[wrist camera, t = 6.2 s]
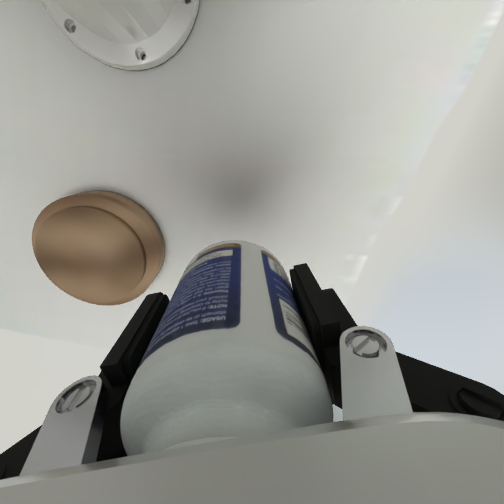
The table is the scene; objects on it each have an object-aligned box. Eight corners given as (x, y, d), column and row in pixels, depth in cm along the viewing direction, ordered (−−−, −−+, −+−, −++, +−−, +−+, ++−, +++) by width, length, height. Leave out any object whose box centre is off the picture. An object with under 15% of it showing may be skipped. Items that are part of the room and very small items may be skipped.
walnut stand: (32, 203, 25) (-4, 212, 22) (142, 179, 25) (124, 184, 21) (84, 299, 30) (62, 320, 26) (178, 280, 29) (169, 298, 26)
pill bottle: (176, 318, 13) (37, 670, 4) (192, 226, 11) (-5, 517, 2) (271, 335, 14) (324, 670, 5) (301, 250, 12) (477, 549, 3)
